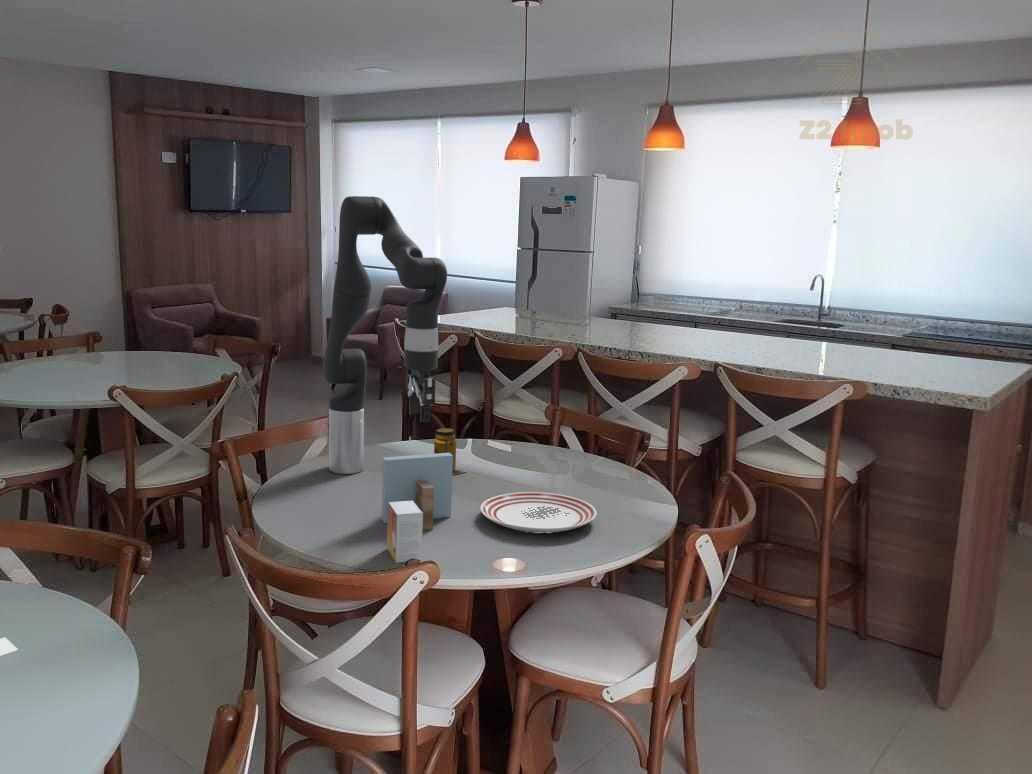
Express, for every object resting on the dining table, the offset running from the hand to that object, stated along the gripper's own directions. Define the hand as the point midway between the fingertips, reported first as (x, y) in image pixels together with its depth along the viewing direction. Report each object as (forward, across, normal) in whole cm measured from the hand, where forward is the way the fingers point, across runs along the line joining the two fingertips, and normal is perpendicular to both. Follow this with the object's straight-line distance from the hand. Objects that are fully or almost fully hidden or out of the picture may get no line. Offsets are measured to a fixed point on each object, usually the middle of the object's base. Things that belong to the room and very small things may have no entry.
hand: (419, 417), depth 200 cm
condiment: (+25, +33, -19) cm, 45 cm away
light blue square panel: (+24, 0, 0) cm, 24 cm away
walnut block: (+24, 0, 0) cm, 24 cm away
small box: (+24, -20, +9) cm, 33 cm away
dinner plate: (+25, -9, -27) cm, 38 cm away
